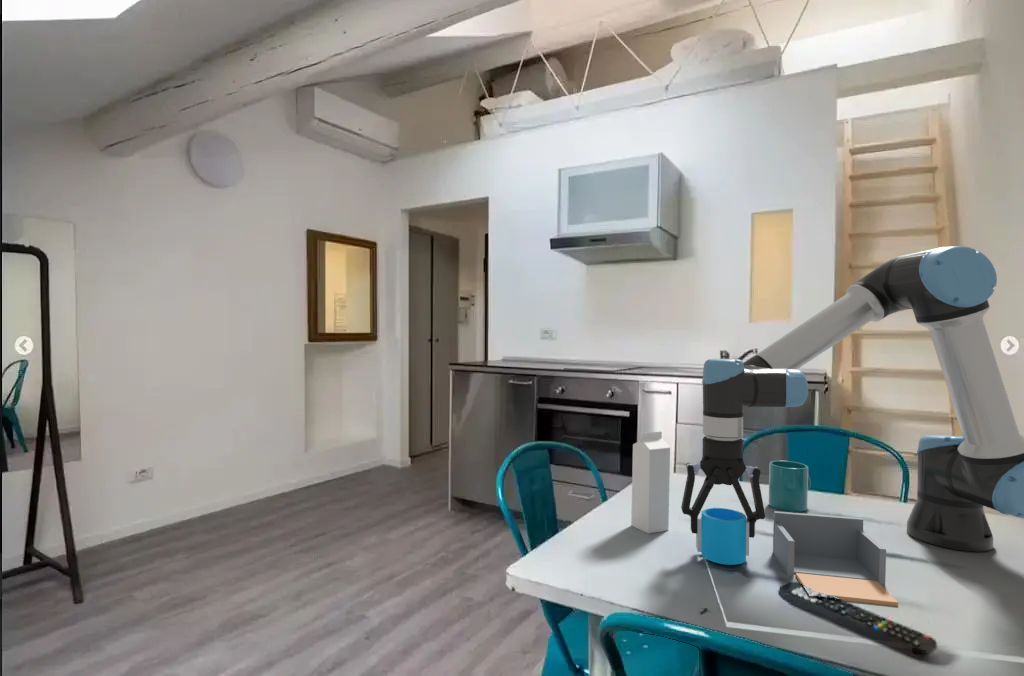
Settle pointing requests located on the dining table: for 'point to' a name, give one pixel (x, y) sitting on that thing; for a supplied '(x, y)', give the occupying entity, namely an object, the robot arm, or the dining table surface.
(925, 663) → the dining table surface
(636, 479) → the milk
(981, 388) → the robot arm
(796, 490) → the cup
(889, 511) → the dining table surface
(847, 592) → the panel
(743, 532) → the mug
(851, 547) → the box
